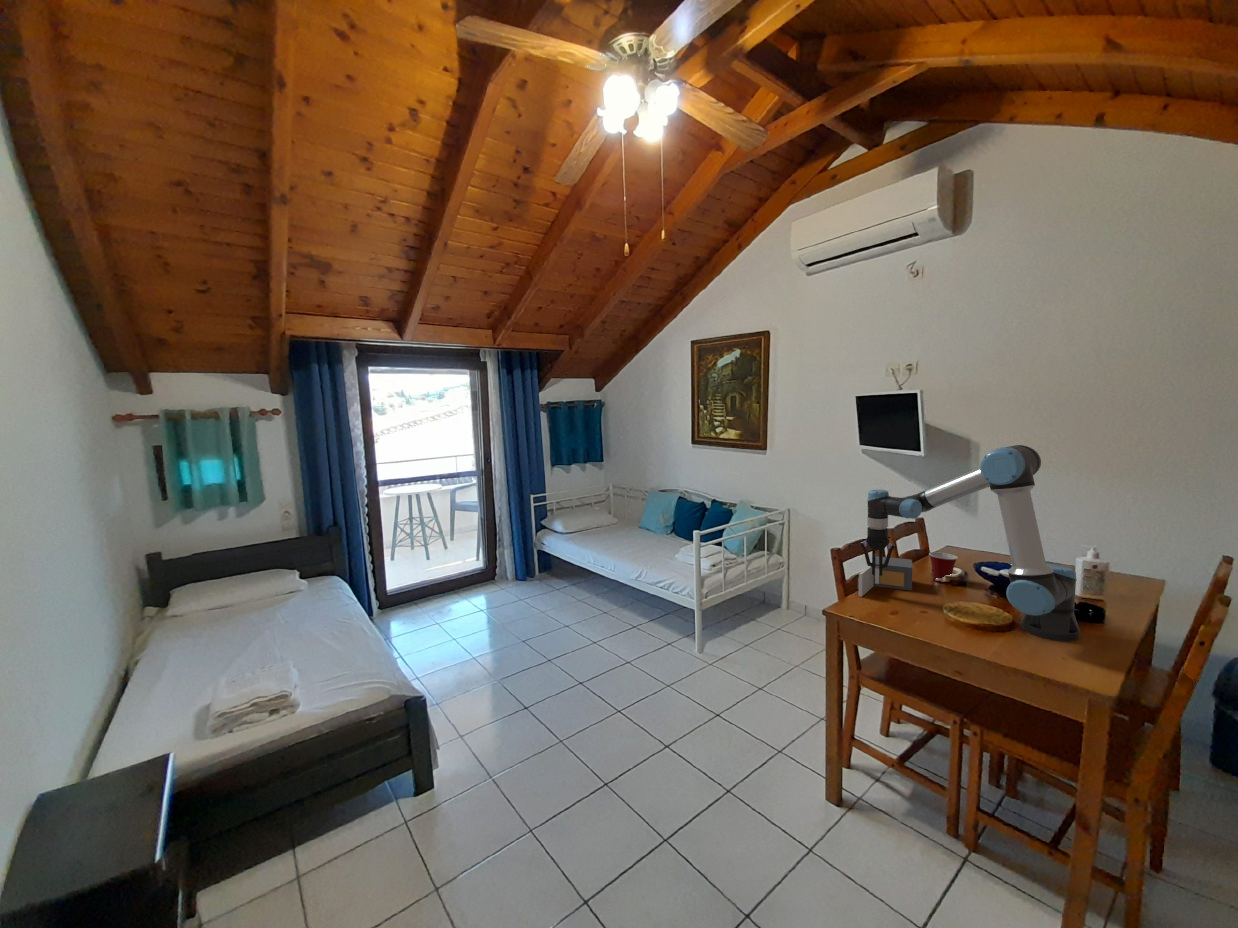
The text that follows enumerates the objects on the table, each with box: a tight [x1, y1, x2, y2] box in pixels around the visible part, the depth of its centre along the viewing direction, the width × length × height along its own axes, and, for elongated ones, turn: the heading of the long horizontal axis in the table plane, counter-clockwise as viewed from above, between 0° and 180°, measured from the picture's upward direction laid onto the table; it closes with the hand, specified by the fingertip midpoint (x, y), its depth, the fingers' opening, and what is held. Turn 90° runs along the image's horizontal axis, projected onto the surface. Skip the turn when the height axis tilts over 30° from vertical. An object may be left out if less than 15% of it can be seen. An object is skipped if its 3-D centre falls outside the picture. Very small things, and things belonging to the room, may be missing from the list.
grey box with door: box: [873, 555, 913, 592], centre depth 218 cm, size 14×15×10 cm
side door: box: [857, 565, 875, 598], centre depth 211 cm, size 2×16×10 cm, turn 136°
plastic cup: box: [928, 551, 959, 579], centre depth 218 cm, size 11×11×12 cm
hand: (877, 582), depth 206 cm, fingers closed
